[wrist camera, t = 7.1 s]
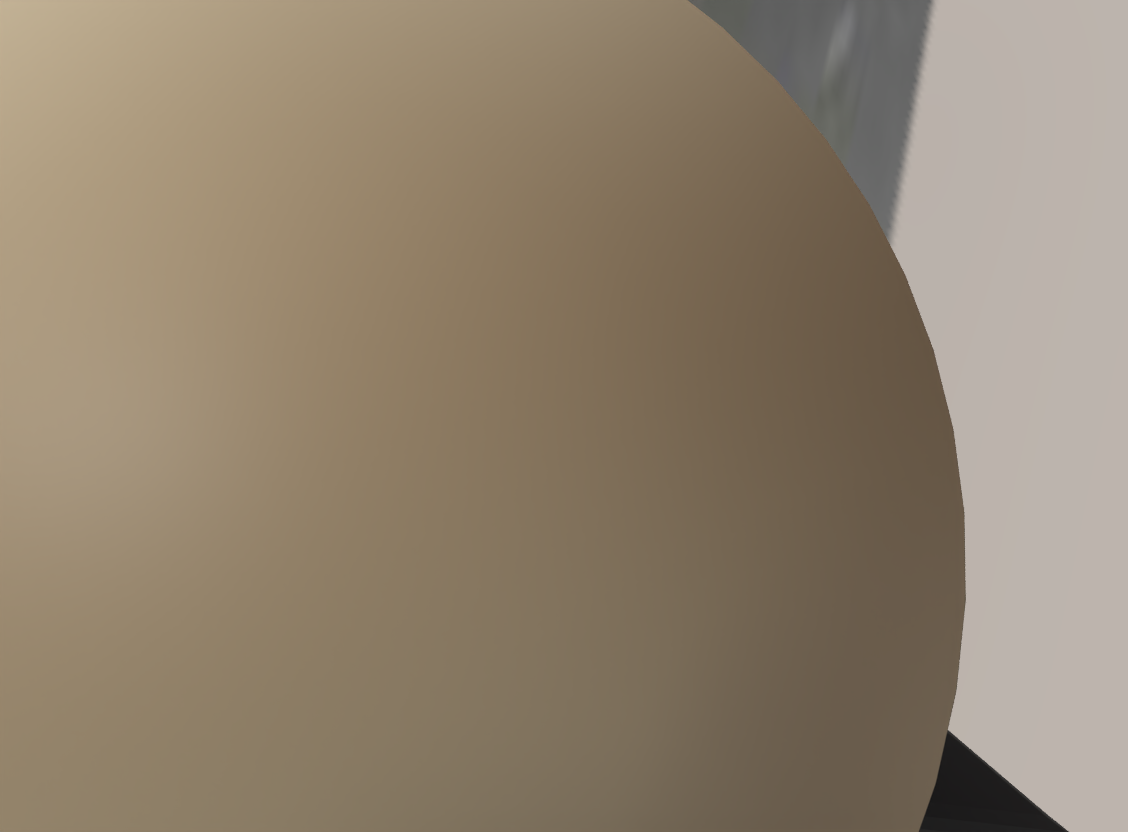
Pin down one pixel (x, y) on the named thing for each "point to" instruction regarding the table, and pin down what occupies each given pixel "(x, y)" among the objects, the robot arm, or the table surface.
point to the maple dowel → (454, 431)
